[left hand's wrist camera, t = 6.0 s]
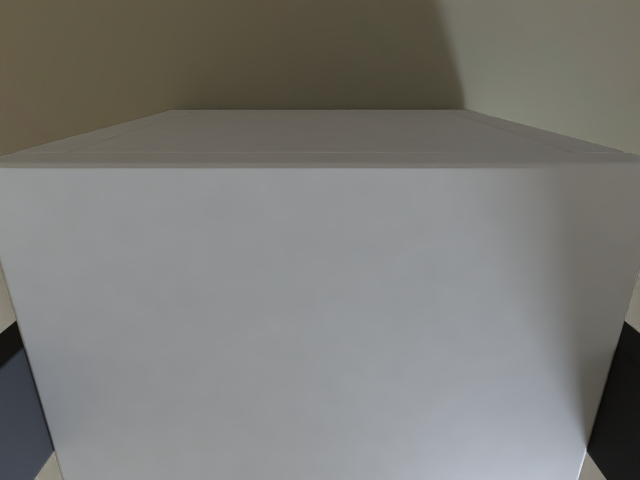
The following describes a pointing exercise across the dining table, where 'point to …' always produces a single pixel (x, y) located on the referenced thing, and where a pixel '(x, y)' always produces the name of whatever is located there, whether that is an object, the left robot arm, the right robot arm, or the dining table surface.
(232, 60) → the dining table surface
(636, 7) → the dining table surface
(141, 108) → the dining table surface
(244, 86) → the dining table surface
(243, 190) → the white rectangular block
